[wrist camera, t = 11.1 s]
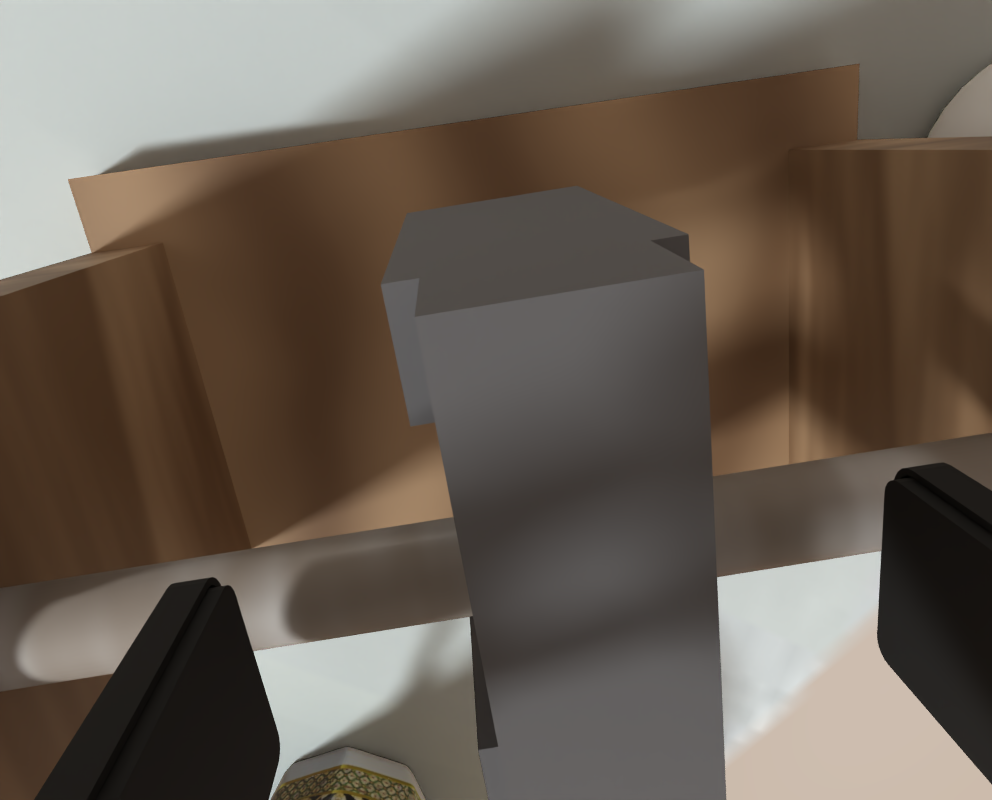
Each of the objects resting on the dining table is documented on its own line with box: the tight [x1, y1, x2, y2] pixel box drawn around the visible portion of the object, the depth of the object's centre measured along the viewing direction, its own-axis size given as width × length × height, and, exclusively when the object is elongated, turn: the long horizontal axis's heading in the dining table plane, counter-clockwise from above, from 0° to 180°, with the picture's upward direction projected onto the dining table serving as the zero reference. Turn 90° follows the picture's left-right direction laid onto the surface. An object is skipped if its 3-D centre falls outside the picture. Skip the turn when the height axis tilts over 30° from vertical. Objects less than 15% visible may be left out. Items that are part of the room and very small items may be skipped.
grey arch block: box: [381, 186, 726, 800], centre depth 14 cm, size 10×4×10 cm, turn 9°
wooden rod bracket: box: [0, 64, 992, 800], centre depth 17 cm, size 22×14×14 cm, turn 98°
